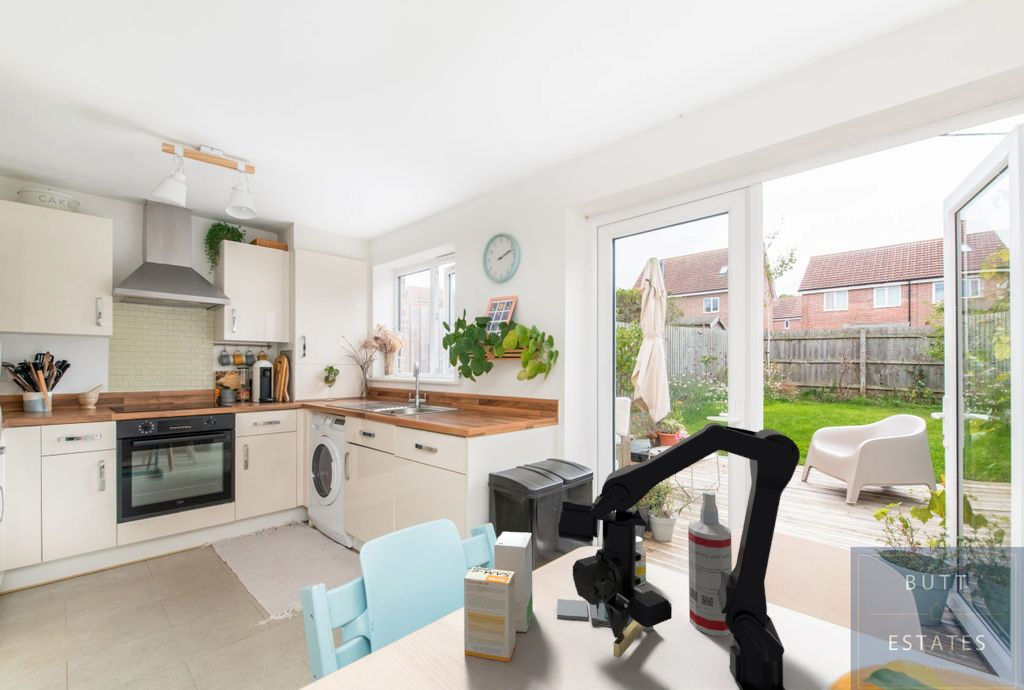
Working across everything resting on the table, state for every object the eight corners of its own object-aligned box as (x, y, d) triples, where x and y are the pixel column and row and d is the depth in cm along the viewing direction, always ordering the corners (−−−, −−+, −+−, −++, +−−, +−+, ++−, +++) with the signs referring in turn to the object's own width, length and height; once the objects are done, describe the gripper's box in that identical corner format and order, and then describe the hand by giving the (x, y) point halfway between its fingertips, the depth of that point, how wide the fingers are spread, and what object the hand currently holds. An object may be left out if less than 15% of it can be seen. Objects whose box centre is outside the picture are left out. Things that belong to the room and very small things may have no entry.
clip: (644, 617, 86) (644, 605, 86) (653, 620, 85) (653, 608, 85) (611, 655, 75) (611, 641, 75) (621, 659, 74) (621, 645, 74)
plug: (632, 611, 91) (632, 581, 91) (633, 629, 85) (633, 597, 85) (599, 607, 92) (599, 577, 93) (598, 625, 86) (597, 593, 86)
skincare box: (526, 634, 83) (526, 548, 84) (491, 629, 84) (492, 545, 85) (533, 609, 91) (533, 532, 92) (501, 606, 92) (502, 529, 93)
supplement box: (516, 646, 79) (516, 570, 80) (508, 663, 75) (509, 583, 75) (472, 638, 81) (473, 565, 82) (462, 655, 77) (463, 577, 77)
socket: (645, 605, 93) (645, 600, 93) (654, 632, 84) (654, 625, 84) (589, 602, 94) (589, 596, 94) (591, 628, 85) (591, 621, 85)
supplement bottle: (645, 588, 100) (645, 544, 101) (620, 584, 102) (620, 541, 102) (646, 577, 105) (646, 535, 106) (623, 573, 107) (623, 532, 107)
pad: (586, 603, 93) (586, 600, 93) (588, 619, 87) (588, 616, 88) (557, 601, 94) (557, 599, 94) (557, 617, 88) (557, 614, 88)
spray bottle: (712, 640, 81) (710, 500, 82) (681, 619, 88) (679, 490, 89) (742, 629, 85) (739, 495, 86) (709, 609, 91) (707, 485, 92)
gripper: (549, 535, 82) (548, 621, 82) (622, 581, 66) (620, 689, 65) (596, 524, 87) (595, 605, 87) (674, 565, 71) (673, 664, 71)
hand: (617, 637), depth 77 cm, fingers closed
